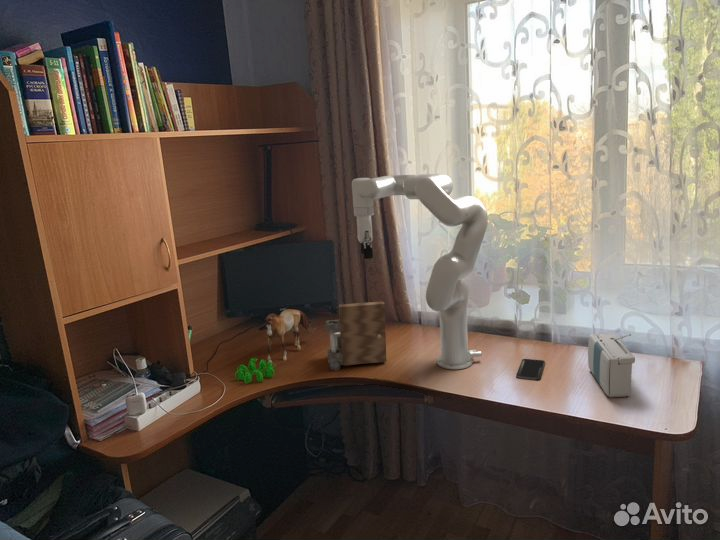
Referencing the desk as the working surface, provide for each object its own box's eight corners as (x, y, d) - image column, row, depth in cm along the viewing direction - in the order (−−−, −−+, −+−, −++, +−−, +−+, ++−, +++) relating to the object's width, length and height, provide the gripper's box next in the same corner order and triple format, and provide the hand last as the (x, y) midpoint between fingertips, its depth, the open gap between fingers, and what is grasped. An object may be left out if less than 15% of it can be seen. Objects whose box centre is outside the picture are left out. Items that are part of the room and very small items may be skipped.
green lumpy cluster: (230, 374, 211) (228, 357, 209) (269, 365, 217) (267, 347, 216) (241, 389, 198) (238, 371, 196) (282, 379, 204) (280, 361, 202)
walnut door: (384, 357, 213) (382, 300, 208) (386, 362, 208) (384, 304, 203) (328, 362, 211) (324, 304, 206) (328, 367, 206) (325, 309, 201)
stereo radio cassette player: (586, 370, 192) (588, 313, 187) (612, 369, 191) (614, 312, 186) (605, 399, 172) (607, 337, 167) (634, 399, 171) (637, 336, 166)
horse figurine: (274, 371, 210) (268, 318, 205) (257, 369, 214) (251, 316, 209) (318, 341, 237) (313, 293, 232) (302, 339, 240) (297, 292, 235)
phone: (515, 376, 190) (522, 358, 203) (515, 379, 191) (522, 361, 204) (540, 378, 187) (545, 360, 200) (540, 381, 187) (545, 363, 201)
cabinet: (376, 351, 221) (373, 309, 217) (381, 365, 209) (377, 320, 205) (328, 357, 220) (324, 315, 215) (330, 370, 207) (326, 326, 203)
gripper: (351, 209, 224) (355, 252, 228) (356, 215, 207) (359, 261, 211) (370, 207, 225) (373, 250, 229) (376, 213, 208) (379, 259, 212)
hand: (367, 255), depth 220 cm, fingers open, 9 cm apart
